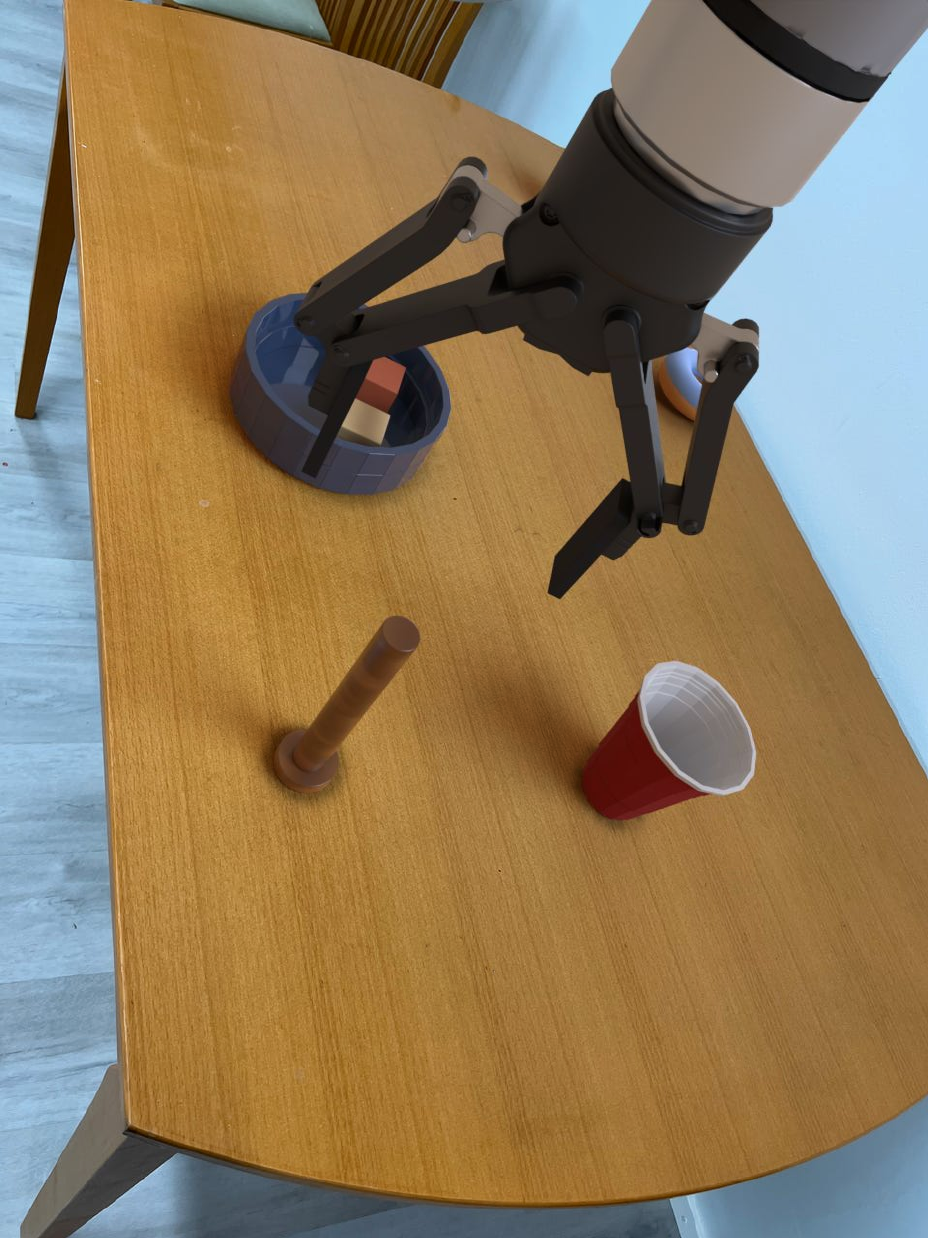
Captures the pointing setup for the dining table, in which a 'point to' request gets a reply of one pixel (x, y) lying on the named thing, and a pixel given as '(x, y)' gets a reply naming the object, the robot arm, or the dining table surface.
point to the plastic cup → (670, 746)
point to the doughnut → (681, 380)
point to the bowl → (288, 427)
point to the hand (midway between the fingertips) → (440, 519)
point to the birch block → (364, 425)
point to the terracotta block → (381, 384)
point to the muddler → (345, 708)
